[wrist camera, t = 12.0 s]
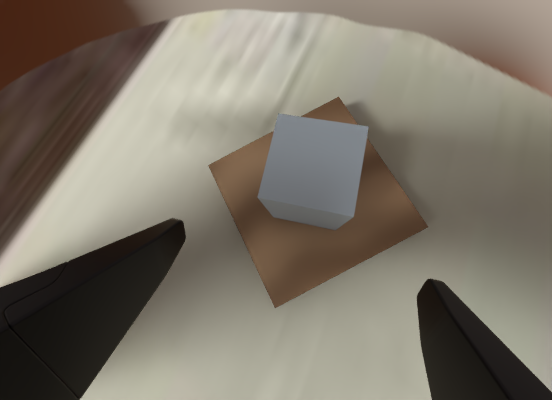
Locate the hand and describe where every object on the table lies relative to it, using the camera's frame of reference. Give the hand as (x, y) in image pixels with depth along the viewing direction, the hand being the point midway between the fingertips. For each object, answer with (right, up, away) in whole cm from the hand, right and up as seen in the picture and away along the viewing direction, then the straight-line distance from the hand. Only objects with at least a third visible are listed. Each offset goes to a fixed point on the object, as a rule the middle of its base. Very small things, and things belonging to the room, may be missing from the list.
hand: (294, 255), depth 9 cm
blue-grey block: (+2, +3, +11) cm, 11 cm away
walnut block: (+2, +2, +13) cm, 13 cm away
